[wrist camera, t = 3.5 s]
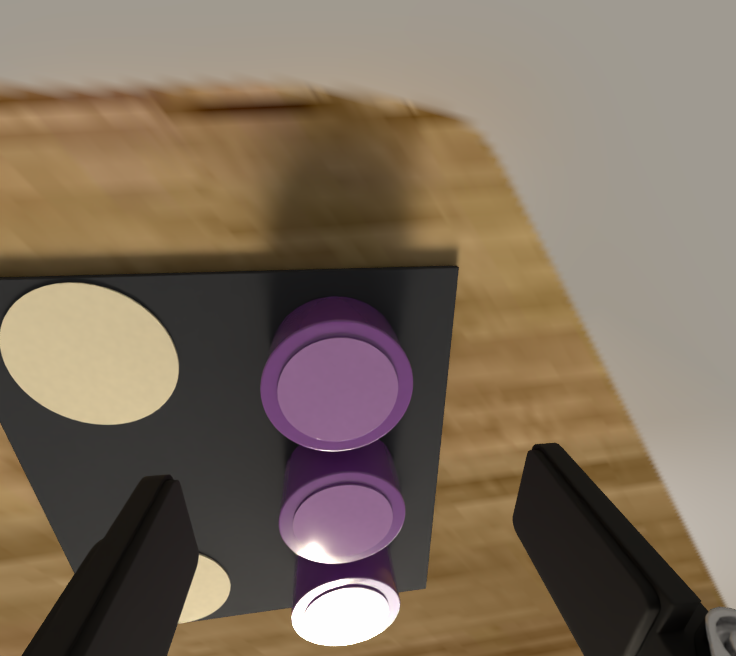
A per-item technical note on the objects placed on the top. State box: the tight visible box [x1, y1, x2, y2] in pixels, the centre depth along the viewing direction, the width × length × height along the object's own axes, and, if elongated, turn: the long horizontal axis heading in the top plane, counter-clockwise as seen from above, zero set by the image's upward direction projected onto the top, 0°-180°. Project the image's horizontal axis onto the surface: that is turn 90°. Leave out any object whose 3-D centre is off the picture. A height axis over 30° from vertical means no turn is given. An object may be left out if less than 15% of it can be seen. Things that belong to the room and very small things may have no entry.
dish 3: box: [291, 545, 400, 646], centre depth 21 cm, size 6×6×3 cm
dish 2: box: [278, 439, 406, 564], centre depth 19 cm, size 6×6×3 cm
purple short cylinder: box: [260, 296, 413, 452], centre depth 16 cm, size 6×6×3 cm
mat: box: [0, 266, 459, 624], centre depth 20 cm, size 22×24×1 cm
